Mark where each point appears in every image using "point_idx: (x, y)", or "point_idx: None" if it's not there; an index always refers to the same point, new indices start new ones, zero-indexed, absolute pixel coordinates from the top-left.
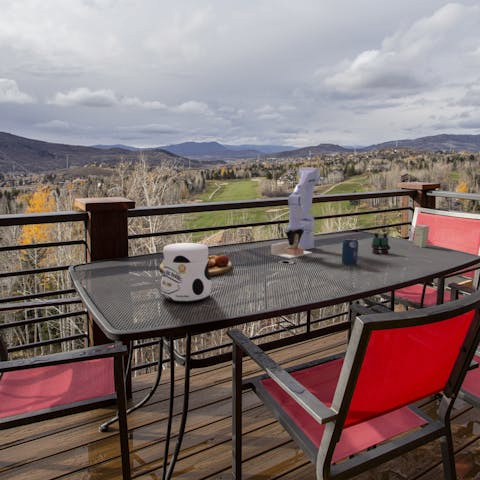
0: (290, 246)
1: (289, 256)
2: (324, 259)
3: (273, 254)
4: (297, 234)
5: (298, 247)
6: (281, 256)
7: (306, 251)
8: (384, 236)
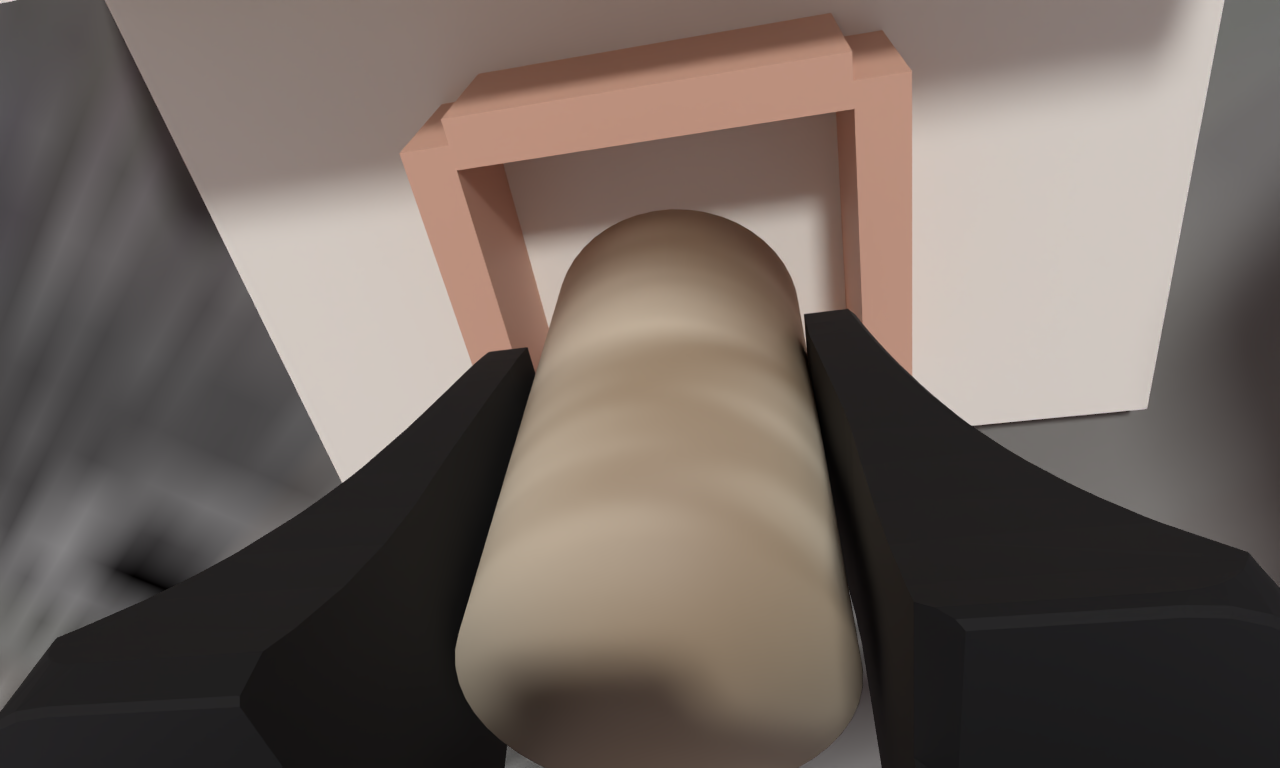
0: (549, 327)
1: (386, 419)
2: (855, 738)
3: (121, 4)
4: (828, 716)
5: (908, 288)
6: (254, 276)
7: (1137, 275)
8: None
